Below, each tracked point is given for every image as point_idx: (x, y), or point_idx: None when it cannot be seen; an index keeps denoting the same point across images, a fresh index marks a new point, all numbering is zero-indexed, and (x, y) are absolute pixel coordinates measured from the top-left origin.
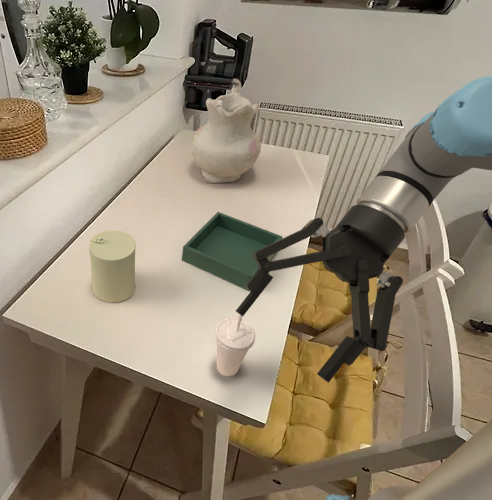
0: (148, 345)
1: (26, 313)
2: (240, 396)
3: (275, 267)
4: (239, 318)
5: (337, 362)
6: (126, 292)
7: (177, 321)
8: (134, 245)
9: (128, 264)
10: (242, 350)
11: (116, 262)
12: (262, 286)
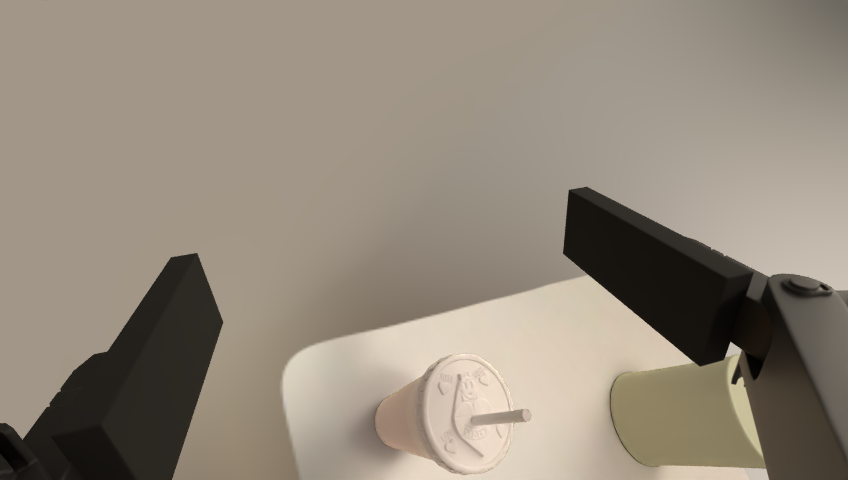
0: (520, 349)
1: None
2: (337, 373)
3: (800, 309)
4: (508, 411)
5: (166, 302)
6: (627, 409)
7: (532, 444)
8: (756, 447)
9: (704, 410)
10: (424, 378)
11: (719, 377)
12: (678, 242)
